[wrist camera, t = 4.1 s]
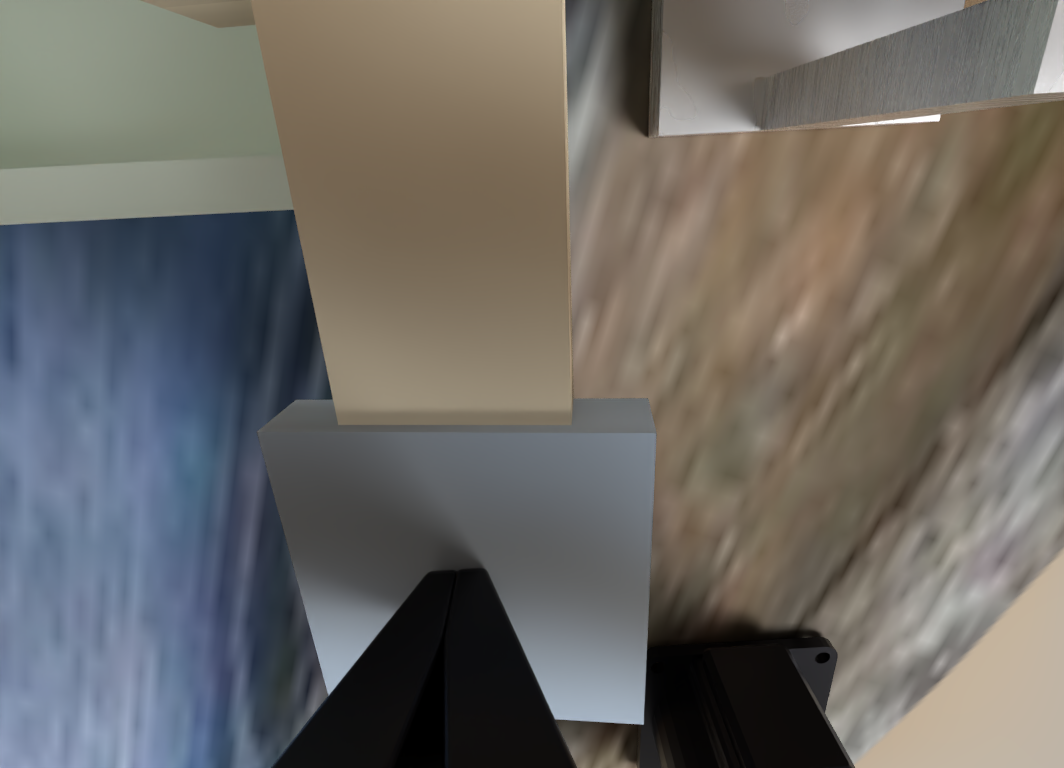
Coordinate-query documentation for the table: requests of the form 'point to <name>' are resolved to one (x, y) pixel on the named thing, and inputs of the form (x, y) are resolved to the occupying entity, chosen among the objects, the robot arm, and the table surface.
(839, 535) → the table surface
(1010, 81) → the pivot stand
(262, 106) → the bin
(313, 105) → the lever
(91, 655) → the table surface
